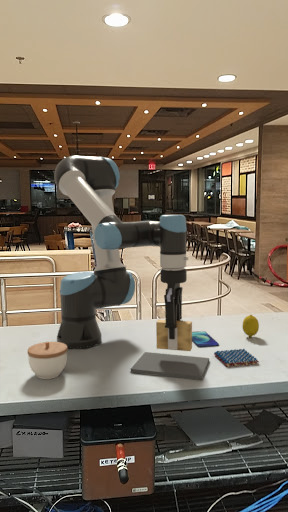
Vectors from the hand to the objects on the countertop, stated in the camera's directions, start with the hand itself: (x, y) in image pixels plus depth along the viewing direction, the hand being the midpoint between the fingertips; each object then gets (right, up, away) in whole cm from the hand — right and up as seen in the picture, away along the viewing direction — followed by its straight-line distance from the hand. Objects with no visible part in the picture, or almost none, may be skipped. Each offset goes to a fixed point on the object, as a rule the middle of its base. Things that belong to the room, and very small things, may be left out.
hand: (174, 346), depth 125 cm
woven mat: (+19, -5, +2) cm, 20 cm away
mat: (-1, -5, -3) cm, 6 cm away
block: (0, 0, 0) cm, 0 cm away
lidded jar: (-35, -6, -7) cm, 37 cm away
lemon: (+28, -2, +23) cm, 37 cm away
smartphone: (+11, -3, +21) cm, 24 cm away
